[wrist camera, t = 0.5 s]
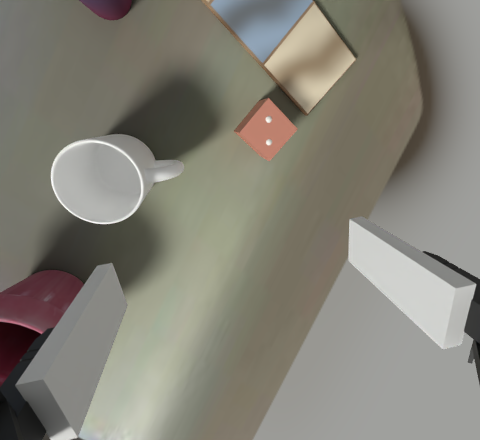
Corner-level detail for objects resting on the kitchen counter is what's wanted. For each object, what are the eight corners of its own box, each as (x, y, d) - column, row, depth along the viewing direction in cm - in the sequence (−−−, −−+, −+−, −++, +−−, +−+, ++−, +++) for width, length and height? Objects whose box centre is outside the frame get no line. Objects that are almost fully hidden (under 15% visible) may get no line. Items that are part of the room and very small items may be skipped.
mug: (181, 129, 34) (175, 133, 24) (190, 190, 37) (187, 215, 28) (83, 135, 33) (37, 142, 23) (100, 199, 36) (65, 228, 26)
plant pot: (70, 346, 43) (23, 431, 31) (-18, 301, 38) (-114, 383, 26) (127, 290, 41) (98, 359, 29) (41, 234, 36) (-35, 291, 24)
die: (233, 130, 35) (239, 132, 30) (258, 100, 34) (269, 97, 29) (260, 156, 37) (269, 161, 32) (284, 127, 36) (298, 129, 31)
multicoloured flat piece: (143, -64, 27) (142, -69, 26) (199, -150, 25) (199, -158, 25) (305, 115, 36) (307, 115, 35) (354, 60, 34) (357, 58, 33)
